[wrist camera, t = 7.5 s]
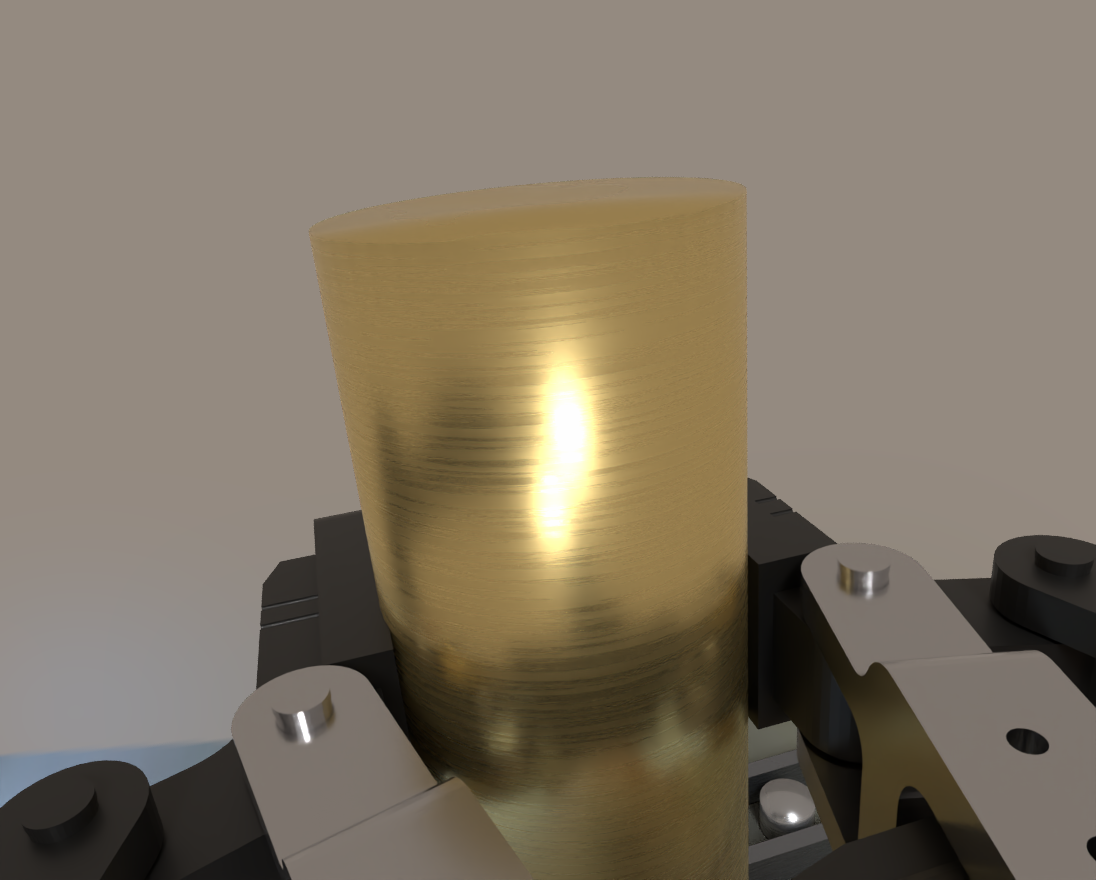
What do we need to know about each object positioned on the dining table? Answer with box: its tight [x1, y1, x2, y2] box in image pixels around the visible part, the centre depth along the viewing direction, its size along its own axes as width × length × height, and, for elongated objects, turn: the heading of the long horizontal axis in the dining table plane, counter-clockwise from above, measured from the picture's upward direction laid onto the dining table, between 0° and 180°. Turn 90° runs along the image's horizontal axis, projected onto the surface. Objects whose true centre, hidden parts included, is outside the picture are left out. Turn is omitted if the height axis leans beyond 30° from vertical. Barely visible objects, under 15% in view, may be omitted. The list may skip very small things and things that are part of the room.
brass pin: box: [309, 177, 749, 880], centre depth 10 cm, size 4×4×11 cm
